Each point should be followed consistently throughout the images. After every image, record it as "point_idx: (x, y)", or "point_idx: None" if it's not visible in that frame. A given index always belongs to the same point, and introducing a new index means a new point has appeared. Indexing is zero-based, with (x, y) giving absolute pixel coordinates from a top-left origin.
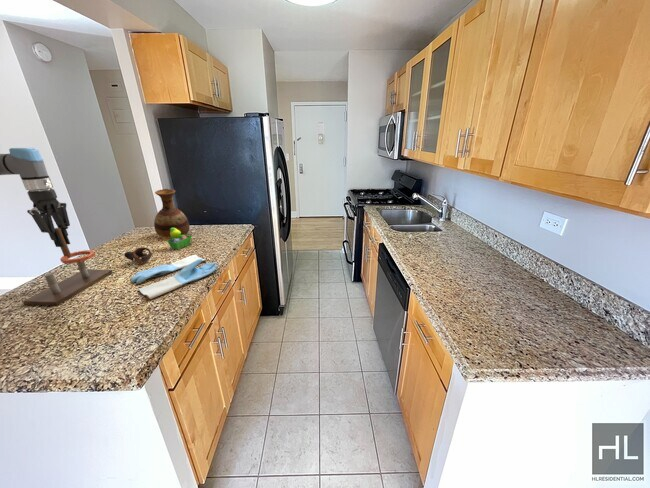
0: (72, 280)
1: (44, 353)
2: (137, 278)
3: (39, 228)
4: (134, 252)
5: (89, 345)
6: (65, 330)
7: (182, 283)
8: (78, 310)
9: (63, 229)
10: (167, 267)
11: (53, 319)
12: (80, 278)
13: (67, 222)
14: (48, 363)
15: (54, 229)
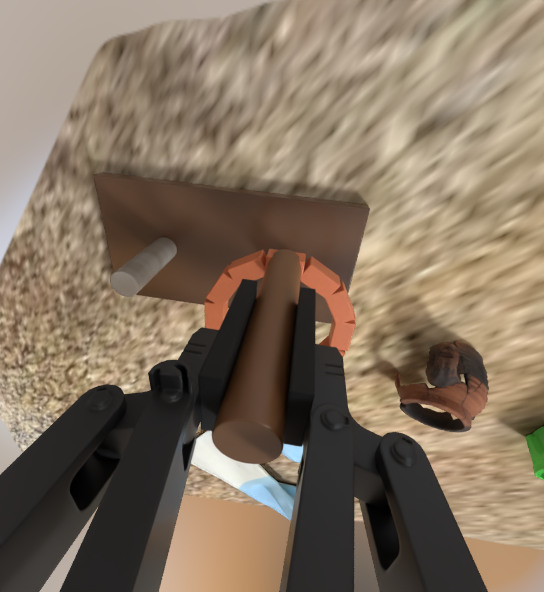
0: (253, 237)
1: (10, 372)
2: None
3: (37, 440)
4: (425, 403)
5: (51, 417)
6: (61, 366)
7: (238, 488)
8: (120, 349)
9: (303, 437)
10: None
11: (77, 321)
12: None
13: (380, 540)
14: (2, 390)
15: (187, 459)
